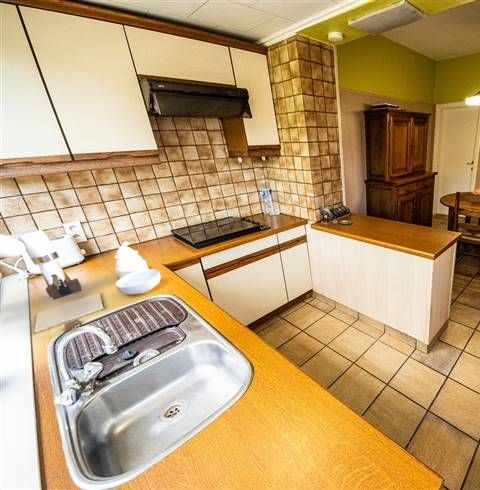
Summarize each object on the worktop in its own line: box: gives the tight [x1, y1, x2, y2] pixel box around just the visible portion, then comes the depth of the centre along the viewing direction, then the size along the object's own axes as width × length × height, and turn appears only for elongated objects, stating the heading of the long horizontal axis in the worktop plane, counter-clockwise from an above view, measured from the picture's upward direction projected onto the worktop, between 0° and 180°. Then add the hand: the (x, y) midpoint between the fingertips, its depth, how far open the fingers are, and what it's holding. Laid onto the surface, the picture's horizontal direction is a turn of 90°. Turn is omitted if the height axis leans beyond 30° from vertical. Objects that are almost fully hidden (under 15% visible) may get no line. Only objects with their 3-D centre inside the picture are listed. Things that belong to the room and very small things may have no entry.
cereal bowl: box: [115, 268, 162, 296], centre depth 128 cm, size 17×17×7 cm
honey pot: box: [113, 241, 150, 279], centre depth 143 cm, size 13×13×18 cm
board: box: [34, 292, 105, 334], centre depth 115 cm, size 20×17×1 cm
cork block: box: [63, 318, 82, 333], centre depth 105 cm, size 4×4×2 cm
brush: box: [45, 278, 83, 301], centre depth 122 cm, size 10×3×6 cm, turn 137°
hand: (66, 292), depth 123 cm, fingers closed on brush, 3 cm apart
